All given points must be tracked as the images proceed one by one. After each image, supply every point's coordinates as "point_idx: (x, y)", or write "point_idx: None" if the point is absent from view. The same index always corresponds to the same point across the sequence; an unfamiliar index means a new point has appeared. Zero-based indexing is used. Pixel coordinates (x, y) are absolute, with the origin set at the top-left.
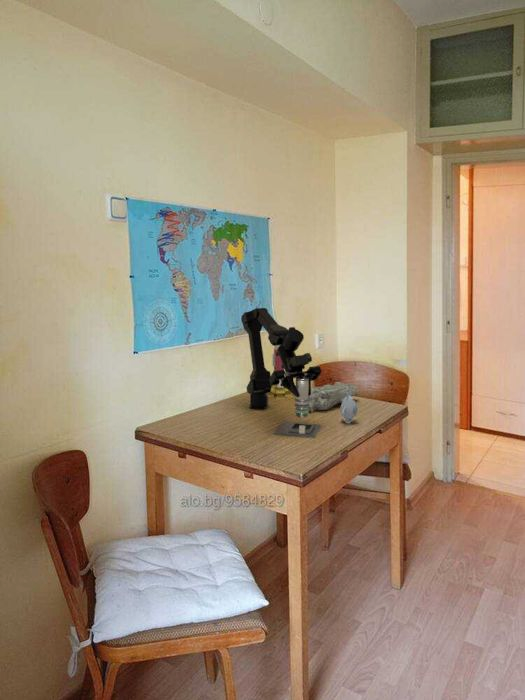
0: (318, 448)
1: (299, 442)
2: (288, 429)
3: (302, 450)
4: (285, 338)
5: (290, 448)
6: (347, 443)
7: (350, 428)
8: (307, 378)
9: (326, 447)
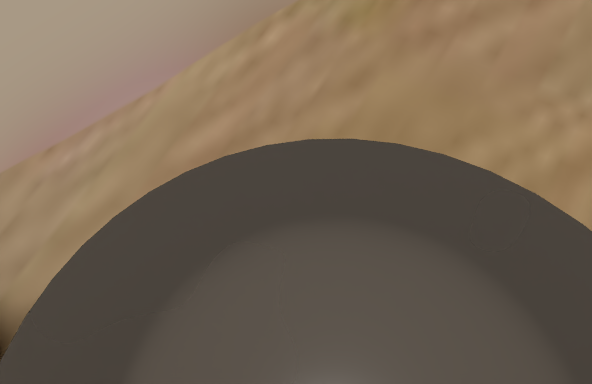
0: (411, 39)
1: (472, 164)
2: None
3: (516, 42)
4: None
5: (576, 94)
6: (225, 49)
7: (44, 254)
8: (82, 333)
9: (361, 37)
